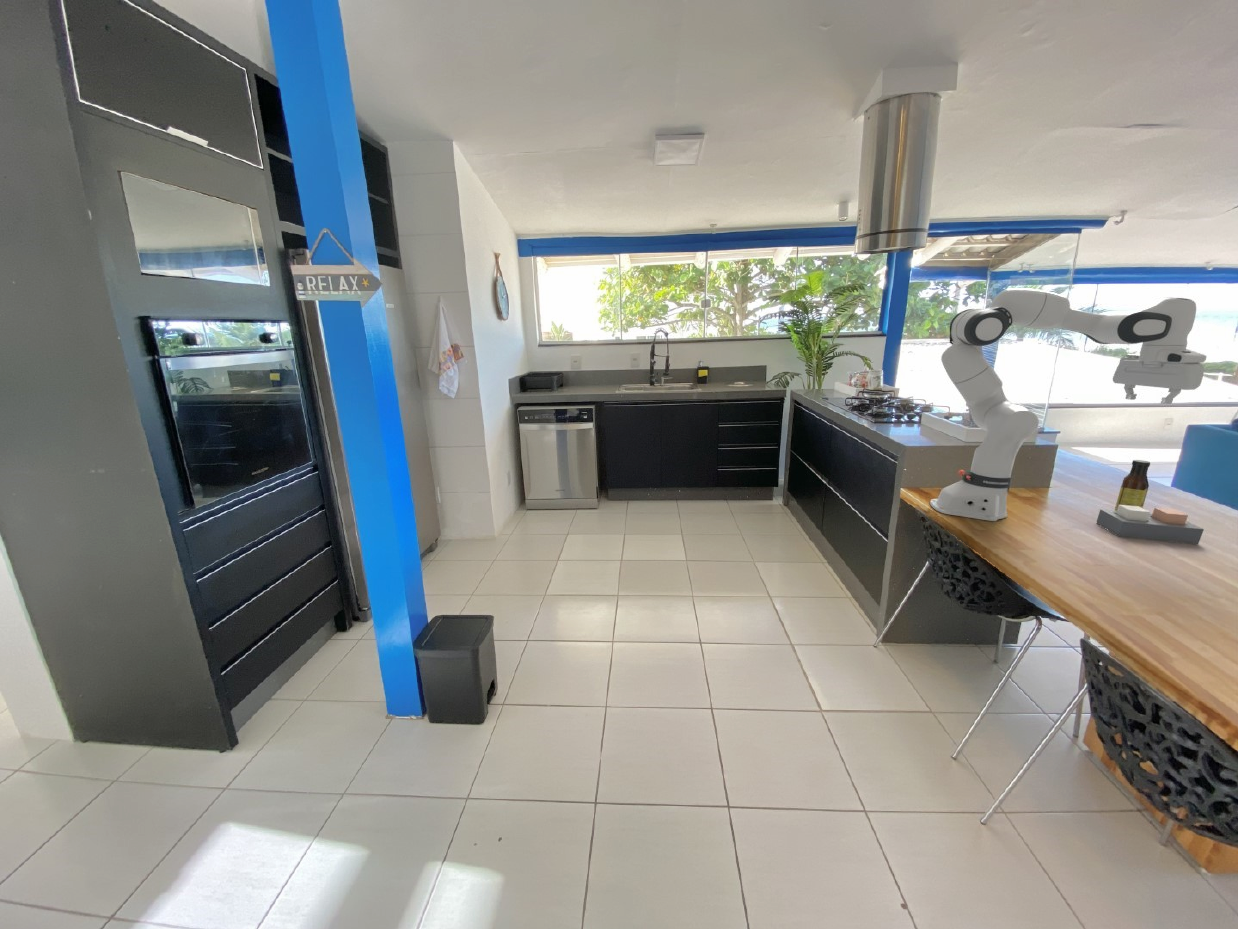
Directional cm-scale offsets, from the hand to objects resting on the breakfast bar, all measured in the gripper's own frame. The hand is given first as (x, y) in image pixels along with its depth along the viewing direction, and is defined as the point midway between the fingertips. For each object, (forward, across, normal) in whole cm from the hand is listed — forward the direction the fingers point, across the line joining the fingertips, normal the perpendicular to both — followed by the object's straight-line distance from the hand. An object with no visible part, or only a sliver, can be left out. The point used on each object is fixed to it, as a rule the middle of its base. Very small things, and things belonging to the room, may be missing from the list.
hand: (1147, 401), depth 142 cm
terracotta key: (+37, +8, +9) cm, 39 cm away
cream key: (+37, +4, 0) cm, 37 cm away
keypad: (+41, +6, +4) cm, 42 cm away
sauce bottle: (+42, -7, +14) cm, 45 cm away
